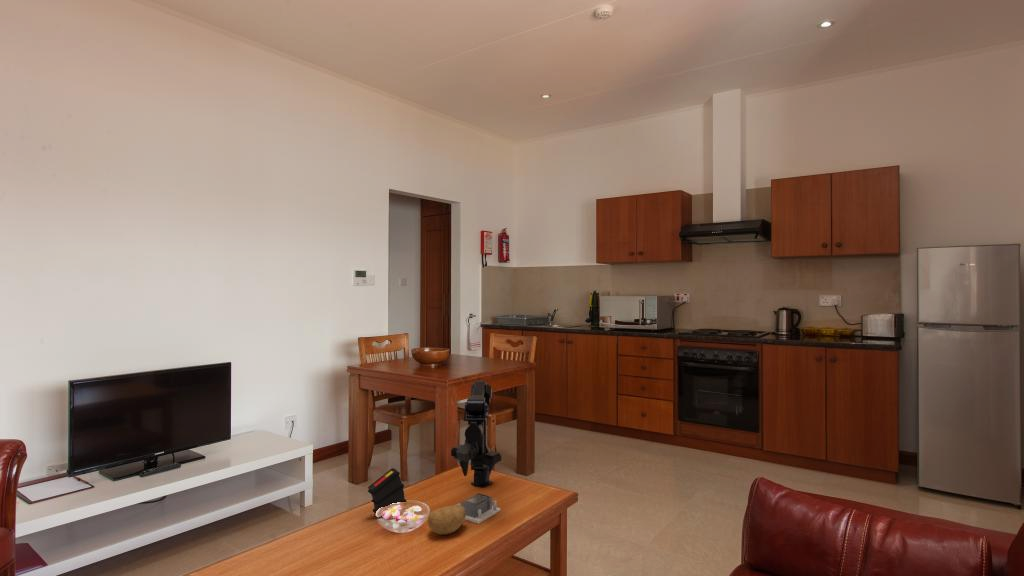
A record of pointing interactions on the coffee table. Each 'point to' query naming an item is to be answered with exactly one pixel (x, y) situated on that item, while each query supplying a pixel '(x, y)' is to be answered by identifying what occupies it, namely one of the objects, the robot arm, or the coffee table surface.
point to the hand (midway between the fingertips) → (475, 478)
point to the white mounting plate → (485, 515)
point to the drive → (477, 504)
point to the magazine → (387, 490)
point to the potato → (446, 519)
